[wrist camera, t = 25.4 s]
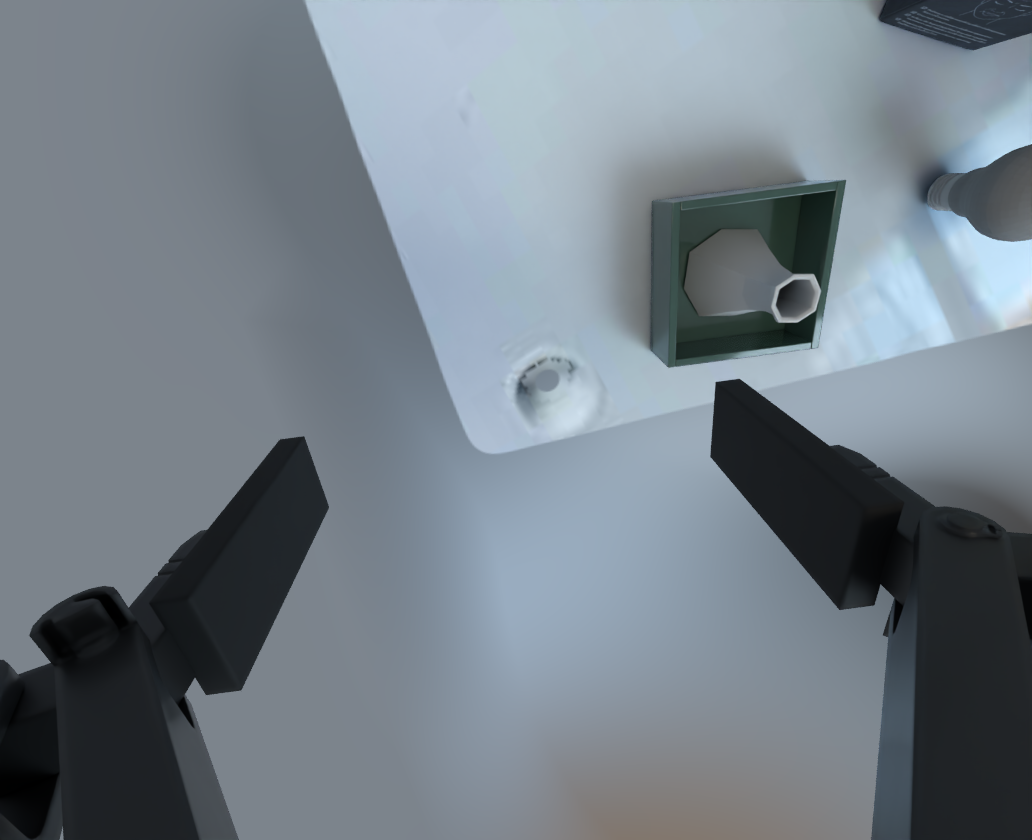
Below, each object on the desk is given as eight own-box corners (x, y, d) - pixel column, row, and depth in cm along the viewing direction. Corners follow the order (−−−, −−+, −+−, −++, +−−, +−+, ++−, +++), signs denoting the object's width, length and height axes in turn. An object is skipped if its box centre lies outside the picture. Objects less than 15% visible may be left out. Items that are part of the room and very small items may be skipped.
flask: (765, 213, 38) (853, 221, 29) (772, 301, 41) (853, 333, 32) (675, 244, 38) (734, 261, 29) (689, 328, 42) (745, 367, 33)
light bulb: (898, 168, 37) (1030, 163, 28) (978, 135, 37) (1138, 119, 28) (901, 244, 40) (1022, 261, 31) (976, 214, 39) (1122, 222, 30)
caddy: (650, 350, 43) (668, 368, 39) (651, 200, 37) (672, 202, 33) (786, 333, 43) (818, 348, 39) (807, 180, 37) (846, 179, 33)
